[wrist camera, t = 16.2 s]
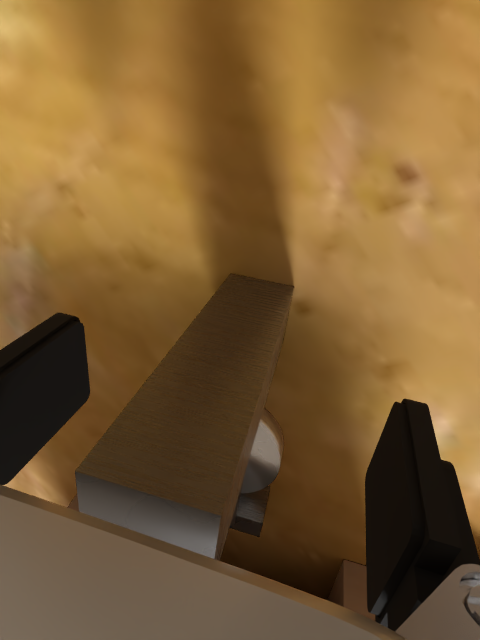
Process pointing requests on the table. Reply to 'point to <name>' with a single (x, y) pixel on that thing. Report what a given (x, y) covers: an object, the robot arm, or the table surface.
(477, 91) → the table surface
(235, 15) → the table surface
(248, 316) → the hoe
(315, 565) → the table surface
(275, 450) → the steel token
